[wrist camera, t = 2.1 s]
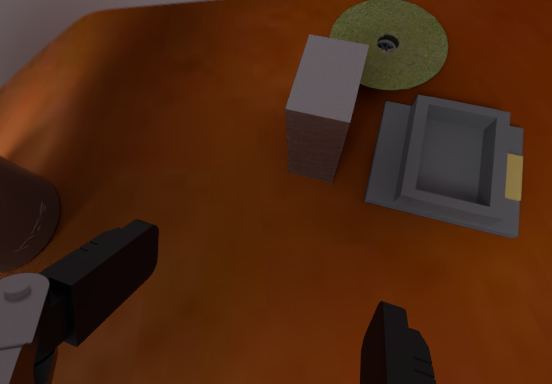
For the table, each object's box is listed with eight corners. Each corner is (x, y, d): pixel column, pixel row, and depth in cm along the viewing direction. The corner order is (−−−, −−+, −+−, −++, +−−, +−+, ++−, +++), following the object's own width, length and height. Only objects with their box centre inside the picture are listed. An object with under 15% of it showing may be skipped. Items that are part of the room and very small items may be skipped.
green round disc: (331, 105, 31) (333, 92, 29) (323, 17, 35) (325, 1, 33) (449, 99, 31) (459, 86, 29) (429, 11, 34) (437, -6, 33)
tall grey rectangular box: (288, 172, 29) (285, 108, 20) (305, 117, 31) (309, 34, 22) (332, 183, 28) (350, 122, 19) (346, 125, 30) (369, 45, 21)
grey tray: (363, 201, 28) (370, 190, 25) (384, 105, 31) (392, 87, 28) (511, 238, 26) (536, 230, 23) (517, 133, 29) (539, 115, 26)
